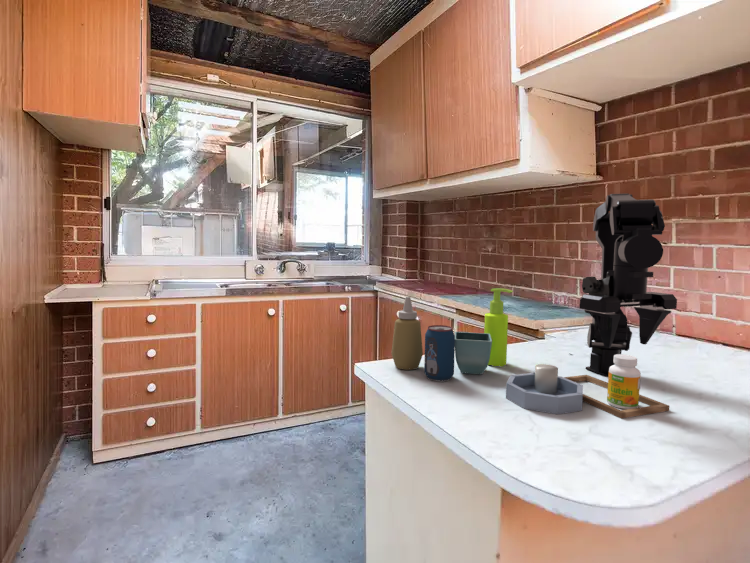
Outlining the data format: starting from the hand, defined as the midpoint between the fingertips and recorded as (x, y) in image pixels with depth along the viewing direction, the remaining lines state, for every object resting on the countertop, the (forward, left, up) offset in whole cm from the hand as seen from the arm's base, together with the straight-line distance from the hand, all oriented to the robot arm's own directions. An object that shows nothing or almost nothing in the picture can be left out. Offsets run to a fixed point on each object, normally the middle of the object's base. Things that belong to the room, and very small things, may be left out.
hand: (625, 345), depth 82 cm
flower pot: (+17, -28, -12) cm, 35 cm away
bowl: (+13, -7, -12) cm, 19 cm away
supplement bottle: (0, 0, -12) cm, 12 cm away
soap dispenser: (+7, -32, -12) cm, 35 cm away
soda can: (+27, -26, -12) cm, 39 cm away
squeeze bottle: (+31, -36, -12) cm, 49 cm away
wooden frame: (0, -5, -12) cm, 13 cm away
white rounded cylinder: (+11, -9, -11) cm, 18 cm away
